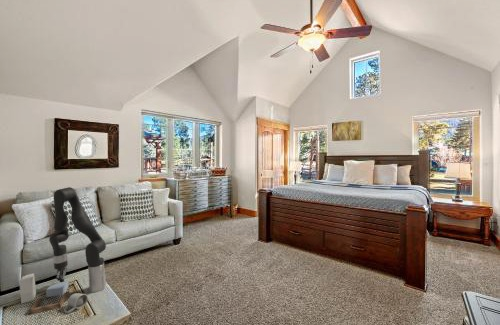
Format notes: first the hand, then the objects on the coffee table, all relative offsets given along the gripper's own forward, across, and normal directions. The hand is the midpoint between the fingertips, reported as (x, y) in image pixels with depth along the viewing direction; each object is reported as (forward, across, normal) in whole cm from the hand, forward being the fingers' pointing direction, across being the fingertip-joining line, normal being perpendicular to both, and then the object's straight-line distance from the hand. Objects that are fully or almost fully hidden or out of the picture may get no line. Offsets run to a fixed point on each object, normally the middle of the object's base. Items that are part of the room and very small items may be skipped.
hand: (62, 284), depth 164 cm
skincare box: (+2, -9, +15) cm, 18 cm away
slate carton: (+2, -8, 0) cm, 8 cm away
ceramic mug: (+2, -31, -16) cm, 35 cm away
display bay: (+2, -20, 0) cm, 21 cm away
